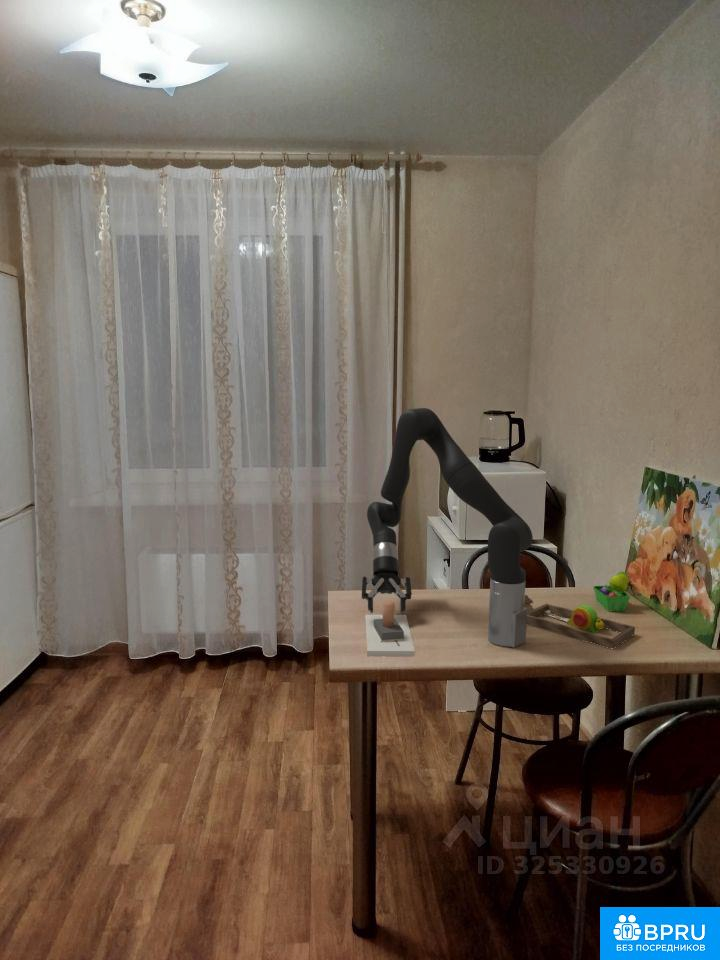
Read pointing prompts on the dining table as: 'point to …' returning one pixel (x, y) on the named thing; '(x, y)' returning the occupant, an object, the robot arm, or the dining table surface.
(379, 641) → the marked board
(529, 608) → the wooden fragment
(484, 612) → the dining table surface
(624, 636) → the wooden tray
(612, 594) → the fruit basket
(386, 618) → the sanding block
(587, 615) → the toy snail
